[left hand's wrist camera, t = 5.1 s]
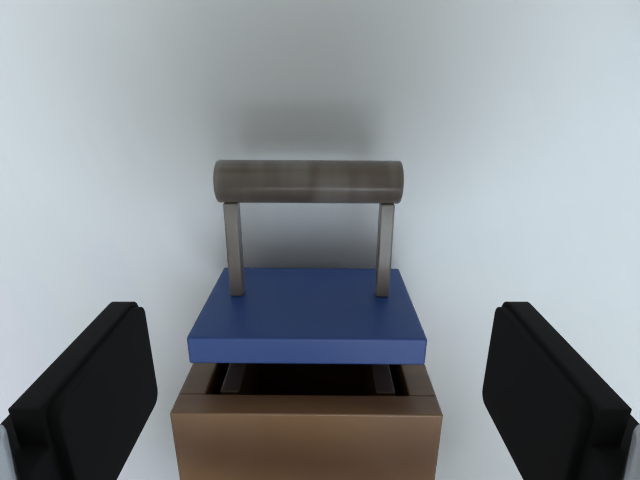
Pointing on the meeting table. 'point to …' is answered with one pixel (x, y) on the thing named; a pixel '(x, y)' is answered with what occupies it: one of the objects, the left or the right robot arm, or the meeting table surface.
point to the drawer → (308, 292)
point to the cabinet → (306, 431)
